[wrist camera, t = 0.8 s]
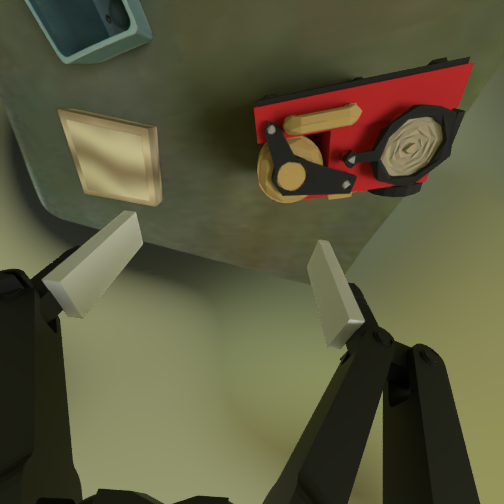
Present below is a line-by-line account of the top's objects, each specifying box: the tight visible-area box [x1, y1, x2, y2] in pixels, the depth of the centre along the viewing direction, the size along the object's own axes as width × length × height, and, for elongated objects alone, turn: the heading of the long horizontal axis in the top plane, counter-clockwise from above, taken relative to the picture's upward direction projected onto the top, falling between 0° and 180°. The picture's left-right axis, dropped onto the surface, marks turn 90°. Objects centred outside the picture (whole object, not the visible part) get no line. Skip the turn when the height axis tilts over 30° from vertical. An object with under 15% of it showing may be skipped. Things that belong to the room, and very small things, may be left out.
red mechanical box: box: [254, 57, 474, 203], centre depth 22 cm, size 16×10×20 cm, turn 100°
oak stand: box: [57, 108, 163, 207], centre depth 32 cm, size 12×12×3 cm
